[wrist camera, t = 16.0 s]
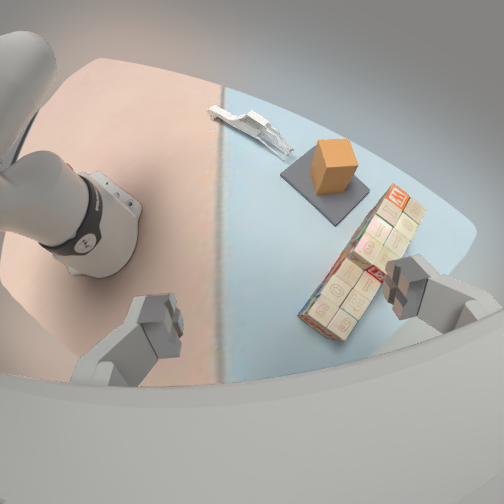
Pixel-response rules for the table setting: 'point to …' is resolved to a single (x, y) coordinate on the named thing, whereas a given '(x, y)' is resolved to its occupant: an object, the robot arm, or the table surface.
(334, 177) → the orange block
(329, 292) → the stack of blocks
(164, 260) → the table surface
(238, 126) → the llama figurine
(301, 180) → the slate mat
